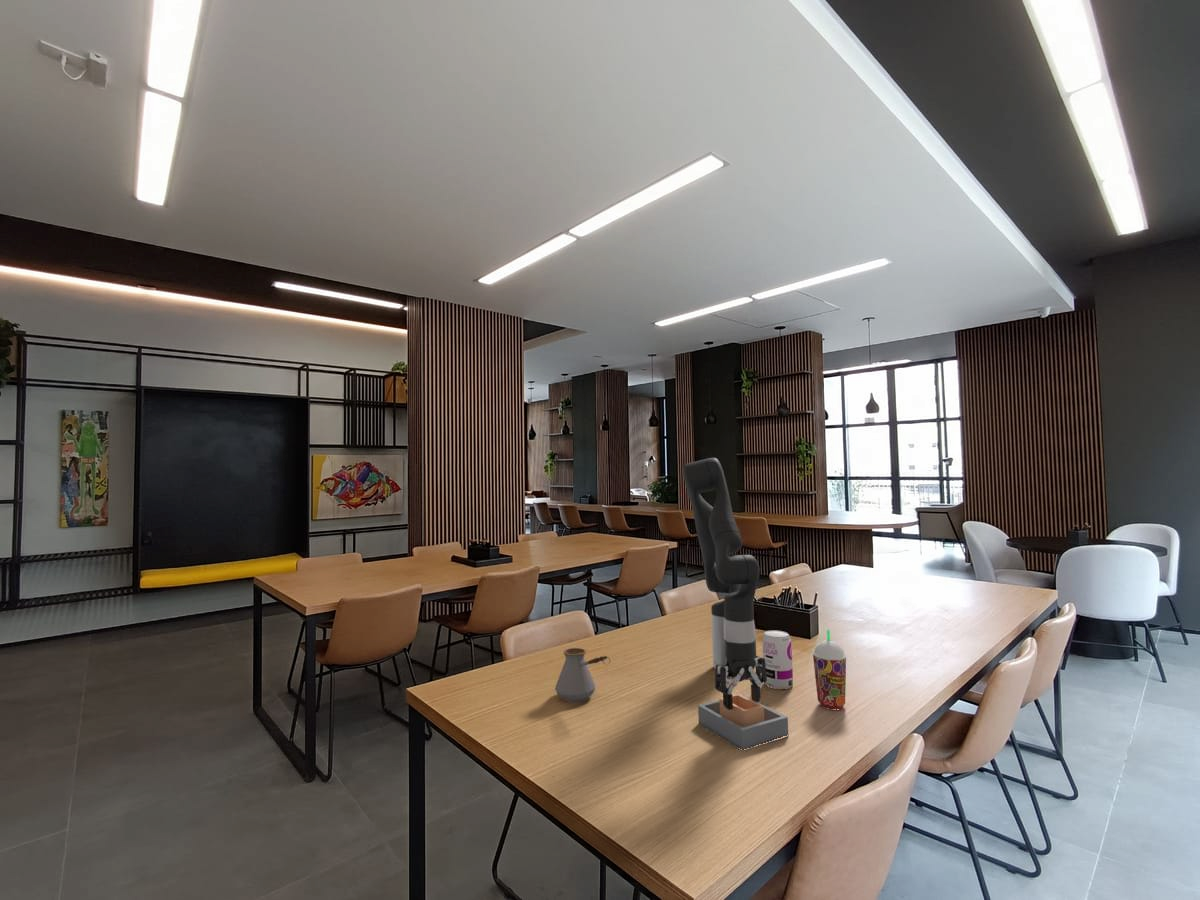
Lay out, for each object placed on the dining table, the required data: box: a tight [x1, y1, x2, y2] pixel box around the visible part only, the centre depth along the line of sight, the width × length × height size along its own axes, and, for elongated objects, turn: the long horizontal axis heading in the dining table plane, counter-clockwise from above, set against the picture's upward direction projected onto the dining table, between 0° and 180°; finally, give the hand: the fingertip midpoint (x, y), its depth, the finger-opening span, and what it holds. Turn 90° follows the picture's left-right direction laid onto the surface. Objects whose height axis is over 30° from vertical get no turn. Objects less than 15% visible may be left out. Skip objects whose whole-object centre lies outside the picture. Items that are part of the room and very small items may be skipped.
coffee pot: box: [555, 647, 611, 704], centre depth 151 cm, size 21×12×15 cm, turn 36°
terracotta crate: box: [719, 693, 765, 728], centre depth 132 cm, size 6×9×6 cm, turn 27°
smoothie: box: [812, 629, 847, 711], centre depth 145 cm, size 8×8×20 cm
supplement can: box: [761, 629, 794, 690], centre depth 161 cm, size 8×8×15 cm
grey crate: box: [697, 694, 789, 751], centre depth 132 cm, size 14×16×4 cm
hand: (742, 704), depth 133 cm, fingers open, 8 cm apart
